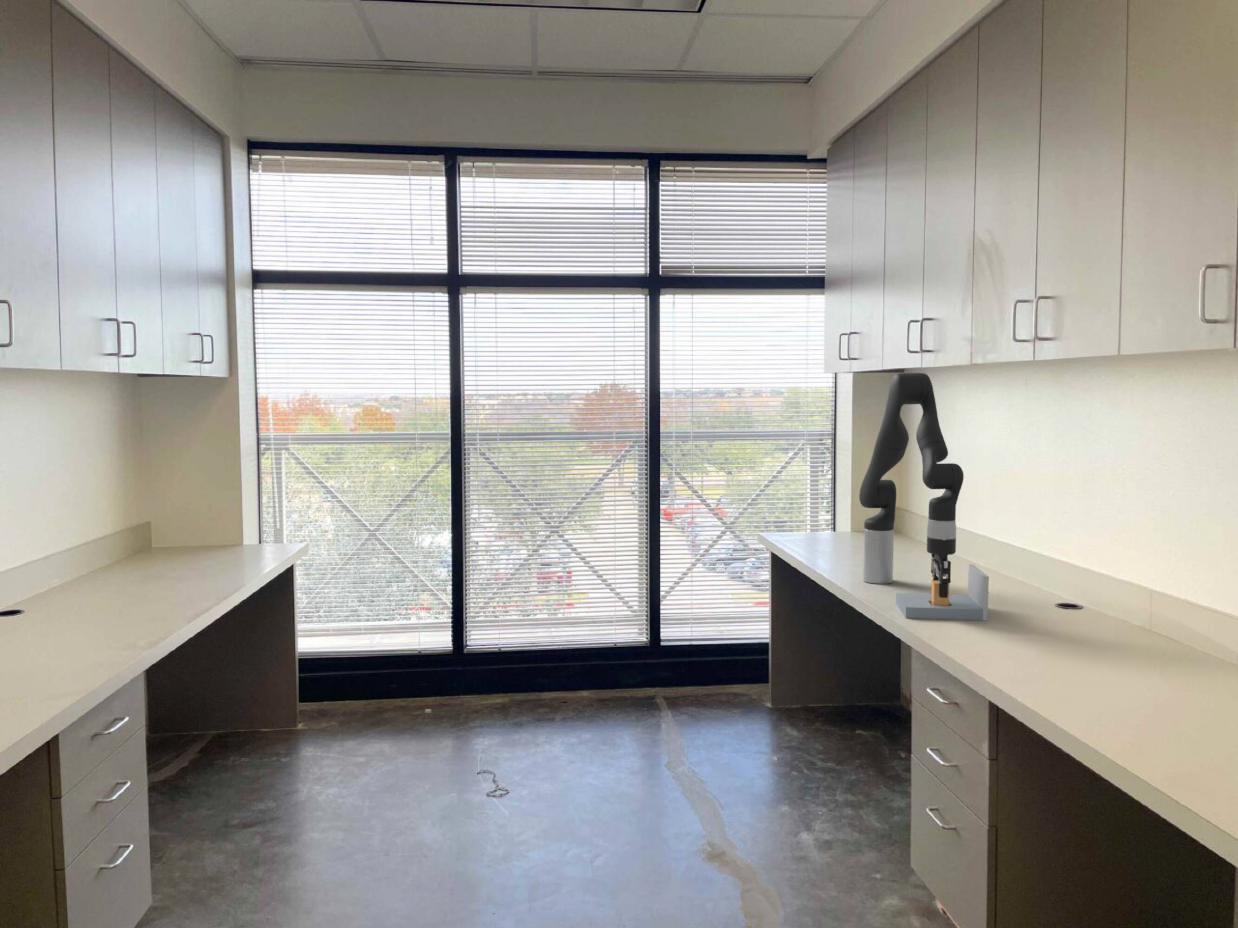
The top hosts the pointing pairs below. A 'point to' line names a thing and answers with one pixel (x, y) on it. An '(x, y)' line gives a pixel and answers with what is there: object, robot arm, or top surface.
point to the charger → (935, 595)
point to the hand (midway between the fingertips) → (940, 593)
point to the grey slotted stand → (950, 601)
